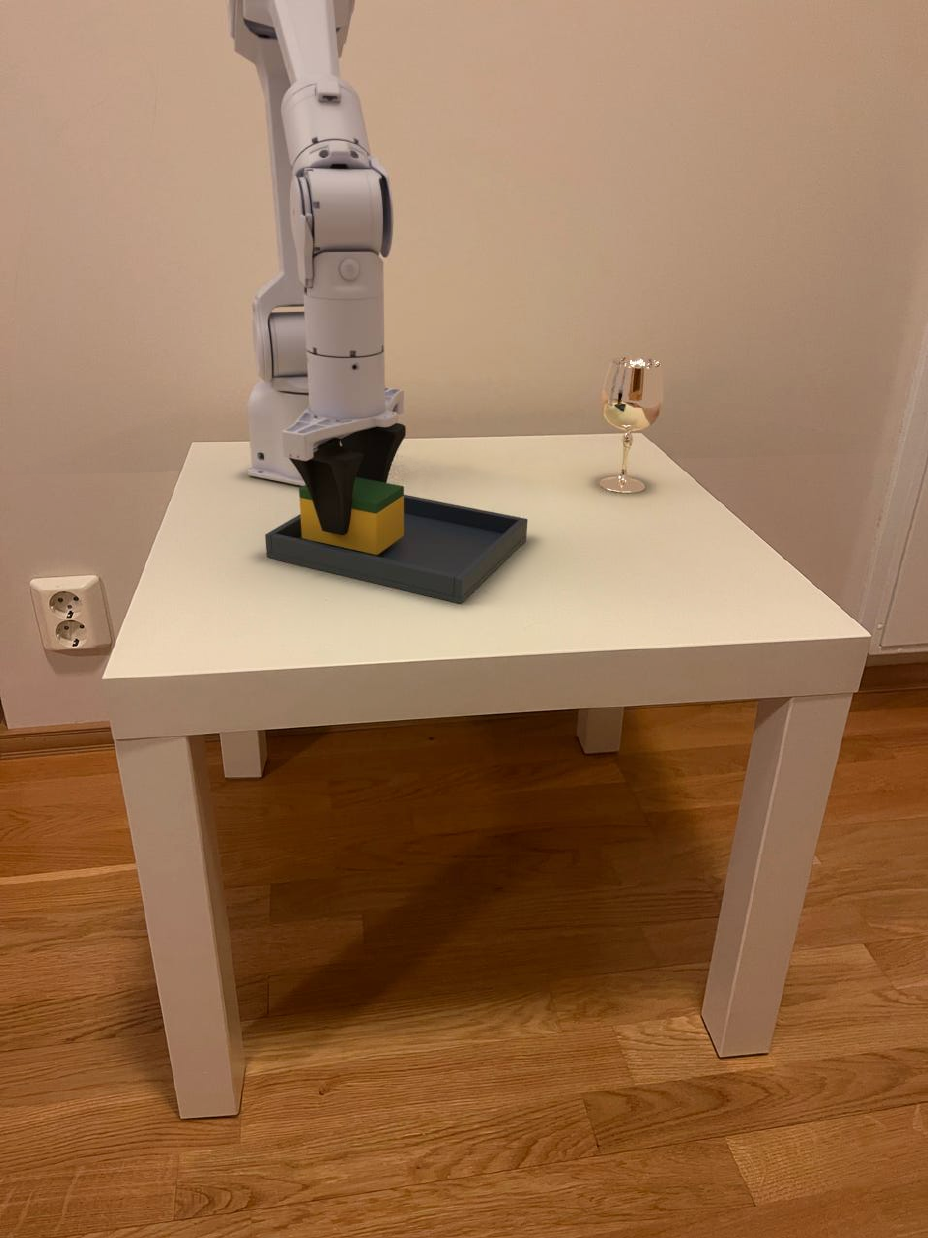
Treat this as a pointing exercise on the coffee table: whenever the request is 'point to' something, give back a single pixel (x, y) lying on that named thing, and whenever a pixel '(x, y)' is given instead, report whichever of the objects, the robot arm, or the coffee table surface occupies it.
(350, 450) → the robot arm
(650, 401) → the wineglass
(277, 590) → the coffee table surface
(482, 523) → the tray
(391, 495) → the sponge
